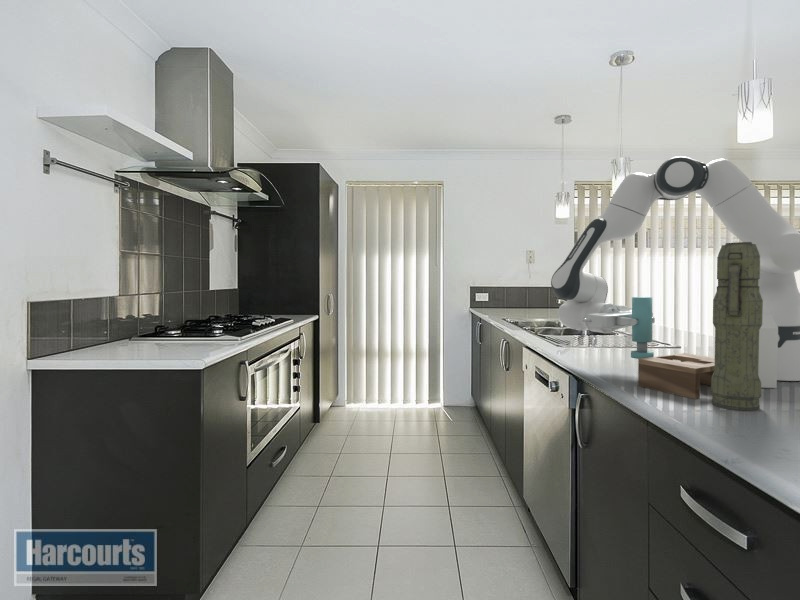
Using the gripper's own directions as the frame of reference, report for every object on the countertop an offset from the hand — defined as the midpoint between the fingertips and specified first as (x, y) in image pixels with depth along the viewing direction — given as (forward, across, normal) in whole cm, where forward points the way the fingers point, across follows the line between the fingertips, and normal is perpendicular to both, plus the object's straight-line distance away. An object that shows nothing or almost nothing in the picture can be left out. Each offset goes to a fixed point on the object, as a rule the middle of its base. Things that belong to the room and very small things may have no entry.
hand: (644, 321), depth 134 cm
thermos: (+28, -7, +16) cm, 33 cm away
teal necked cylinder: (-1, 0, +10) cm, 10 cm away
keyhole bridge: (+13, 0, +16) cm, 20 cm away
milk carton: (+18, +16, +16) cm, 30 cm away
